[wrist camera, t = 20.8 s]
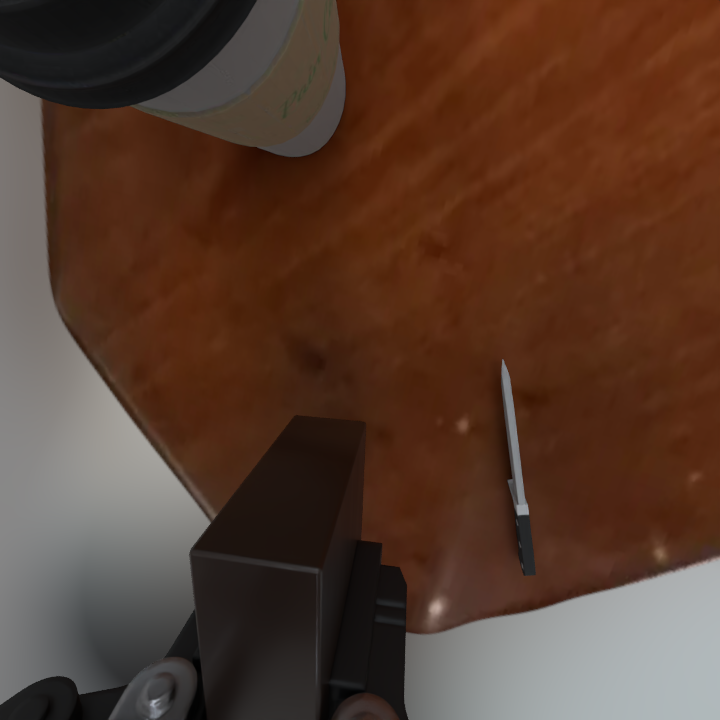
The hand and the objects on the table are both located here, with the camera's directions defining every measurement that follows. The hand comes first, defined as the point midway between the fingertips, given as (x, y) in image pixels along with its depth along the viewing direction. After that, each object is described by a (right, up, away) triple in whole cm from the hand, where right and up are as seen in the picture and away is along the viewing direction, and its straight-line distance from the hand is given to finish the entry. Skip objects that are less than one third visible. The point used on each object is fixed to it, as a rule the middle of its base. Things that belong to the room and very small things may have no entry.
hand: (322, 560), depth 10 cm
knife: (+11, -1, +13) cm, 17 cm away
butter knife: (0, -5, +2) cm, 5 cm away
